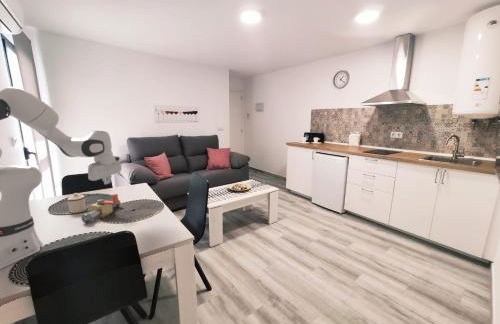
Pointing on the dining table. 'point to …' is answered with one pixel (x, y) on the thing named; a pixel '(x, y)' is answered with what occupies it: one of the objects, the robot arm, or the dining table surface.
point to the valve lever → (114, 202)
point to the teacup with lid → (77, 203)
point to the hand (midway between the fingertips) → (107, 183)
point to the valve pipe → (99, 211)
